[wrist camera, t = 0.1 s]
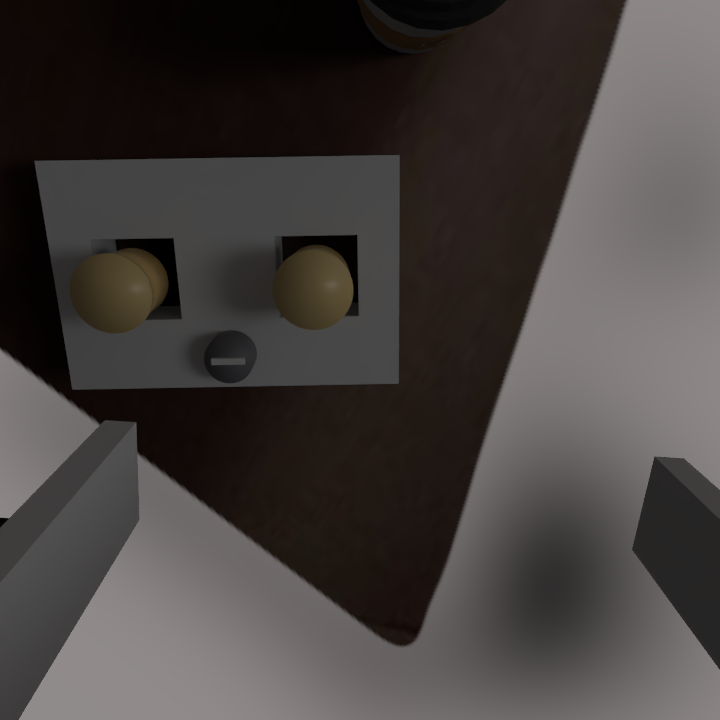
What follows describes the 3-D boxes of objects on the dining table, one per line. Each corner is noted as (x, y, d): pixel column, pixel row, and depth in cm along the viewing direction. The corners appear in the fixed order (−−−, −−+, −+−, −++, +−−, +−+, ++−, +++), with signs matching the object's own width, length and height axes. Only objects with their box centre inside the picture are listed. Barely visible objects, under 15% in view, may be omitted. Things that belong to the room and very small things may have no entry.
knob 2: (278, 241, 37) (270, 250, 33) (352, 240, 37) (352, 249, 33) (282, 313, 38) (274, 330, 34) (353, 312, 38) (354, 329, 34)
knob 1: (93, 245, 37) (63, 254, 33) (167, 243, 37) (146, 253, 33) (103, 317, 38) (76, 334, 34) (175, 316, 38) (155, 332, 34)
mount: (65, 161, 39) (18, 160, 34) (394, 155, 40) (401, 154, 34) (96, 369, 44) (59, 399, 38) (394, 364, 44) (400, 393, 38)
